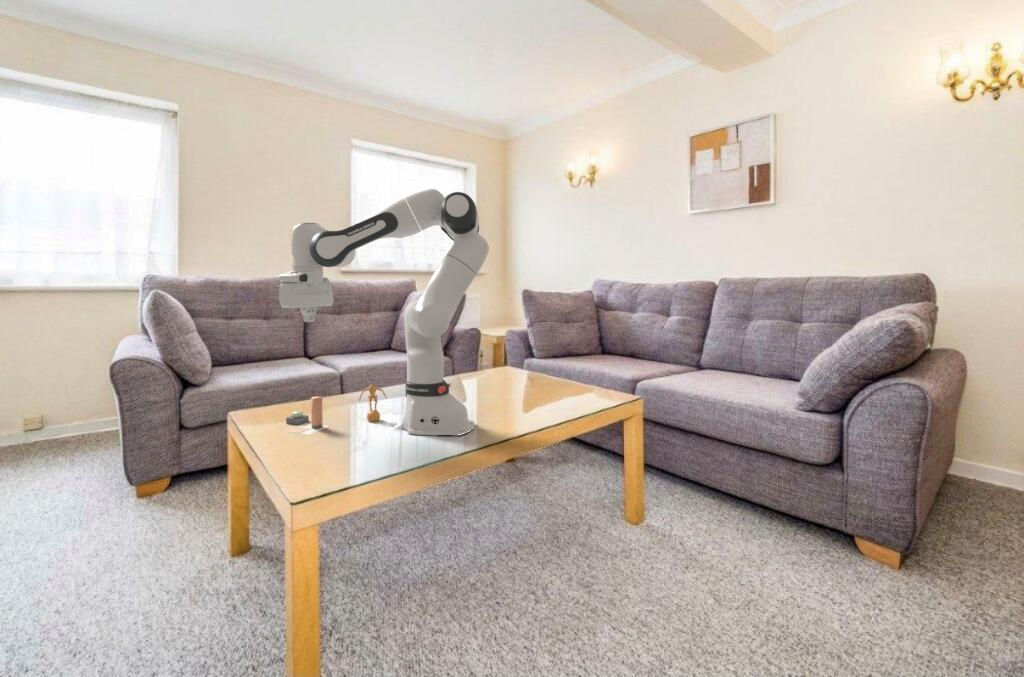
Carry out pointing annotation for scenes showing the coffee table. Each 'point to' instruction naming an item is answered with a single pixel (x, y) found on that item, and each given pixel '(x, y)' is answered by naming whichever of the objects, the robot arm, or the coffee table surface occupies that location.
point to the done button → (297, 414)
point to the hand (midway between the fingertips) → (308, 321)
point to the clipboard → (303, 428)
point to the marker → (316, 412)
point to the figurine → (373, 414)
